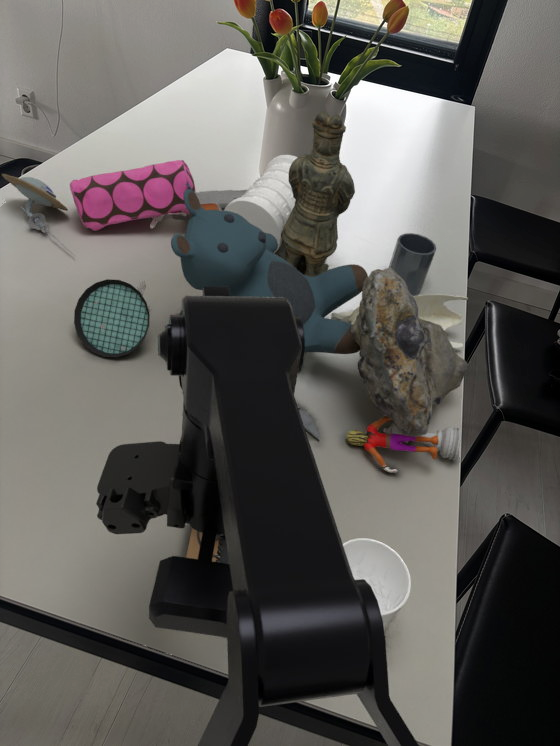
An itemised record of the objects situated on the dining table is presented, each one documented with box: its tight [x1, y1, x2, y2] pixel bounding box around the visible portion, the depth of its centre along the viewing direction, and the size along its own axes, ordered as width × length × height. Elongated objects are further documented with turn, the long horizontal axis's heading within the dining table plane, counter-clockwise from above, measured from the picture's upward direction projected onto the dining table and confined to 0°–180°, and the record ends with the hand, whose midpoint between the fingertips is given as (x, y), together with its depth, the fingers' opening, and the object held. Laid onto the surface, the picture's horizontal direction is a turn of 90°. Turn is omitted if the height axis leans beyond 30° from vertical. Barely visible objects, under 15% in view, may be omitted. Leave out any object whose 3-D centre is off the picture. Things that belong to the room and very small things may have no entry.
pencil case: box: [69, 159, 197, 232], centre depth 110 cm, size 21×10×10 cm
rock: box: [350, 266, 469, 437], centre depth 81 cm, size 25×21×15 cm
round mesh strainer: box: [73, 278, 153, 358], centre depth 91 cm, size 11×12×6 cm
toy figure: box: [345, 415, 439, 474], centre depth 81 cm, size 8×12×3 cm
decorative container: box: [224, 154, 299, 254], centre depth 113 cm, size 12×12×18 cm
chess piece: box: [383, 422, 462, 461], centre depth 84 cm, size 4×4×10 cm
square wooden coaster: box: [185, 527, 221, 562], centre depth 70 cm, size 8×8×1 cm
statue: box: [281, 111, 356, 277], centre depth 100 cm, size 11×9×30 cm
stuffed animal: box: [170, 189, 369, 355], centre depth 83 cm, size 23×18×28 cm
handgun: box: [170, 189, 248, 222], centre depth 120 cm, size 4×26×15 cm
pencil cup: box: [388, 232, 437, 296], centre depth 110 cm, size 7×7×9 cm
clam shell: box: [330, 293, 469, 349], centre depth 101 cm, size 22×12×12 cm, turn 106°
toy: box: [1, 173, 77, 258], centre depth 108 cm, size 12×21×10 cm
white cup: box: [342, 537, 412, 631], centre depth 62 cm, size 8×8×10 cm
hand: (207, 563), depth 53 cm, fingers open, 9 cm apart
